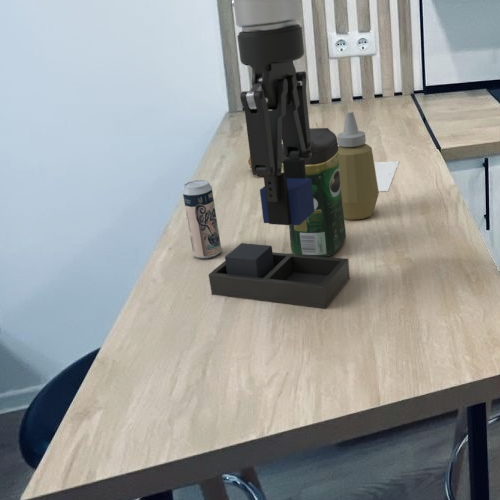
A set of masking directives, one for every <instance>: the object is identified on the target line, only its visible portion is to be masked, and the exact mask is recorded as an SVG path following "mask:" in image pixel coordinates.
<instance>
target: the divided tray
mask: <svg viewBox="0 0 500 500" xmlns="http://www.w3.org/2000/svg"><path fill="white" fill-rule="evenodd" d="M272 252H273V260H274V269H272V270H271V271H270V272H269V273H268V274H267V275H266V276H265V277H264V278H257V277H248V276H239V275H230V274H227V269H226V262H225V260H224V261H222V263H221V264H219V265H218V266H217V267H216V268H214V269H213V270H212V271H211V272H209V274H208V281H209V286H210V292H211V293H210V294H211V295H216V296H223V297H232V298H238V299H246V300H255V301H262V302H270V303H278V304H286V305H291V306H292V305H293V306H300V307H307V308H308V307H309V308H317V309H323V310H324V309H325V310H326V309H327V308H328V307H329V305H330V304H331V303H332V301H334V299H335V298H336V297H337V296H338V294H339V293H340V292H341V291H342V289H343V288H344V287H345V286H346V284H347V283H348V282H349V281H350V279H351V276H350V264H349V263H350V262H349V258H342V257H341V258H340V257H331V256H324V257H321V256H309V255H298V254H294V253H285V252H275V251H272Z"/></svg>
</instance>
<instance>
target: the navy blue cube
mask: <svg viewBox="0 0 500 500" xmlns="http://www.w3.org/2000/svg"><path fill="white" fill-rule="evenodd" d="M286 179H287V188H288V198H289V207H290V217H291V224H290V225H300V224H301V223H302V222H303V221H305V220H306V219H307V218H308V217H309V216H310V215H311V214H312V213H313V212H314V200H313V189H312V179H306V178H286ZM259 194H260V195H259V196H260V202H261V203H260V204H261V211H262V219H263V223H264V224H269V217H268V209H267V201H266V193H265V185H264V186H263V187H261V188H259Z"/></svg>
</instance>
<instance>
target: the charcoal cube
mask: <svg viewBox="0 0 500 500" xmlns="http://www.w3.org/2000/svg"><path fill="white" fill-rule="evenodd" d="M273 252H274V251H273V246H272V245H271V244H270V245H268V244H257V243H245V242H241V243H240V244H239V245H237V246H236V247H234V249H232V250H231V251H230V252H229V253H227V254H226V255H225V256H224V261H225V262H226V269H227V274H230V275H239V276H248V277H257V278H264V277H265V276H266V275H267V274H268V273H269V272H270V271H271V270H272V269H274V260H273Z"/></svg>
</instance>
